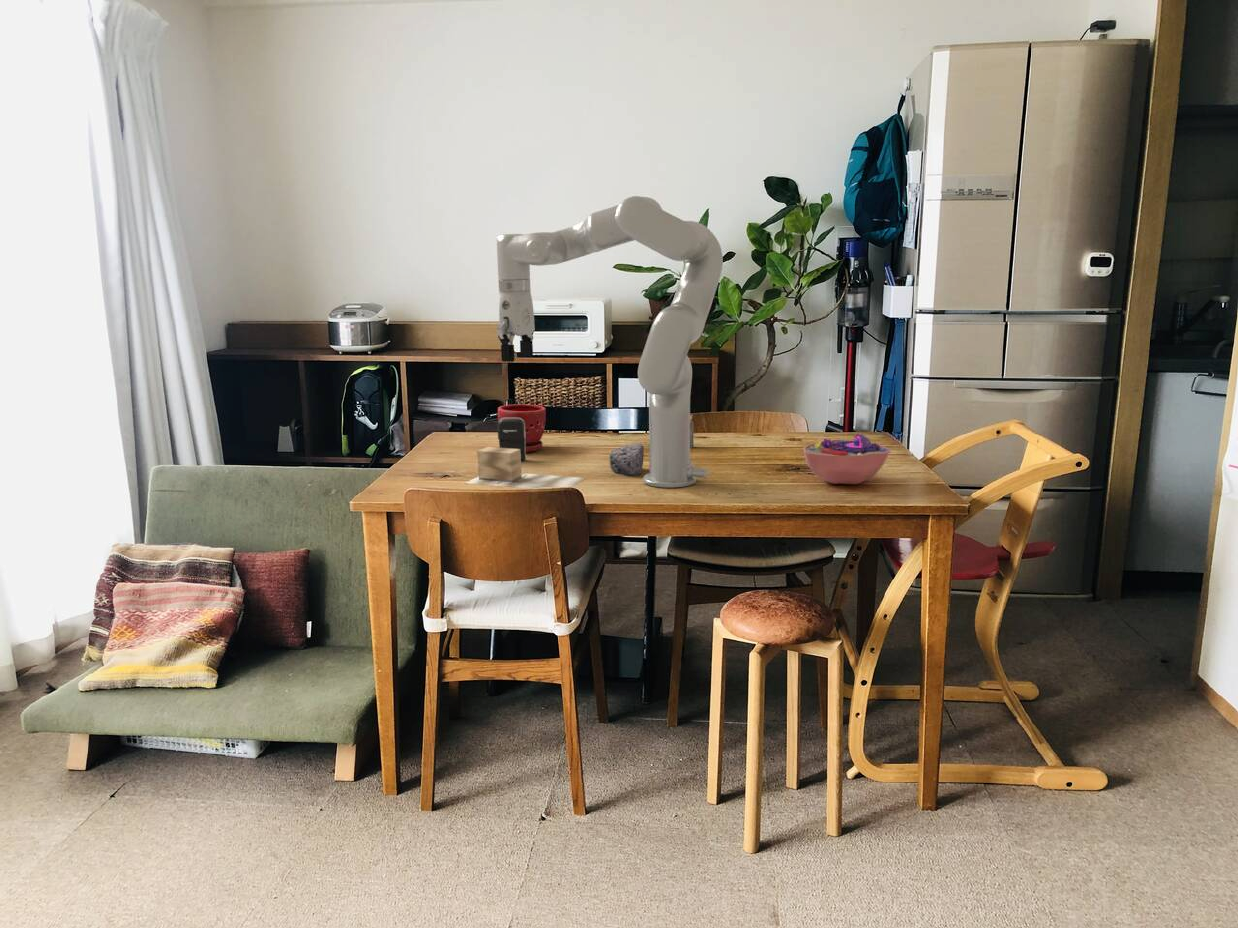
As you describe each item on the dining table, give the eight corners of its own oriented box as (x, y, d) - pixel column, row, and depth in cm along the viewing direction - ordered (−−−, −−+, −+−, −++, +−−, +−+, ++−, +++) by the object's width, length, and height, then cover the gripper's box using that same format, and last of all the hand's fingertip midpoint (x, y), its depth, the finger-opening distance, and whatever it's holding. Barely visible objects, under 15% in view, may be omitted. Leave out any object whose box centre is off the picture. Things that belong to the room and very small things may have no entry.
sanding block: (521, 477, 229) (520, 449, 228) (511, 482, 225) (510, 453, 223) (488, 474, 233) (487, 446, 231) (478, 479, 228) (477, 451, 227)
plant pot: (524, 456, 252) (522, 412, 250) (489, 451, 260) (487, 408, 257) (556, 448, 263) (555, 405, 260) (521, 442, 270) (520, 401, 268)
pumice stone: (605, 484, 232) (639, 477, 226) (596, 454, 231) (630, 446, 225) (625, 474, 240) (658, 467, 235) (616, 445, 239) (650, 437, 234)
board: (586, 479, 228) (586, 478, 227) (563, 492, 216) (563, 491, 216) (491, 471, 237) (491, 470, 237) (464, 483, 225) (464, 482, 225)
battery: (497, 463, 246) (495, 420, 243) (500, 459, 249) (498, 417, 247) (524, 463, 245) (522, 419, 243) (526, 459, 249) (525, 417, 246)
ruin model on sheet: (693, 447, 262) (693, 413, 260) (692, 450, 259) (692, 415, 257) (653, 446, 264) (653, 412, 262) (651, 448, 261) (651, 414, 259)
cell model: (793, 475, 228) (794, 429, 225) (874, 472, 229) (876, 426, 227) (812, 493, 212) (813, 443, 209) (899, 490, 213) (901, 441, 210)
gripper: (511, 289, 216) (514, 363, 220) (544, 285, 231) (547, 355, 235) (482, 289, 218) (486, 363, 222) (517, 285, 234) (520, 354, 238)
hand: (517, 359), depth 229 cm, fingers open, 9 cm apart
